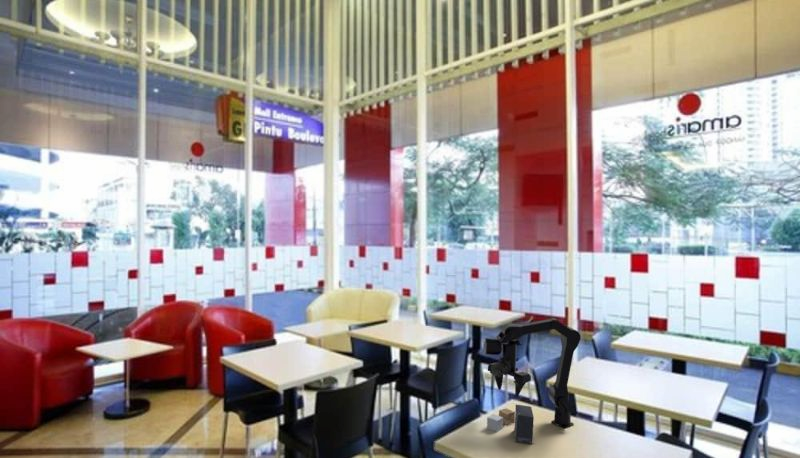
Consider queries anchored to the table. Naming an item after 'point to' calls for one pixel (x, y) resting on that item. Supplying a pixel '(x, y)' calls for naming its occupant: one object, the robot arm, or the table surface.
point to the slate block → (495, 423)
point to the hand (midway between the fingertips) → (507, 393)
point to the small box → (523, 424)
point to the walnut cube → (507, 416)
